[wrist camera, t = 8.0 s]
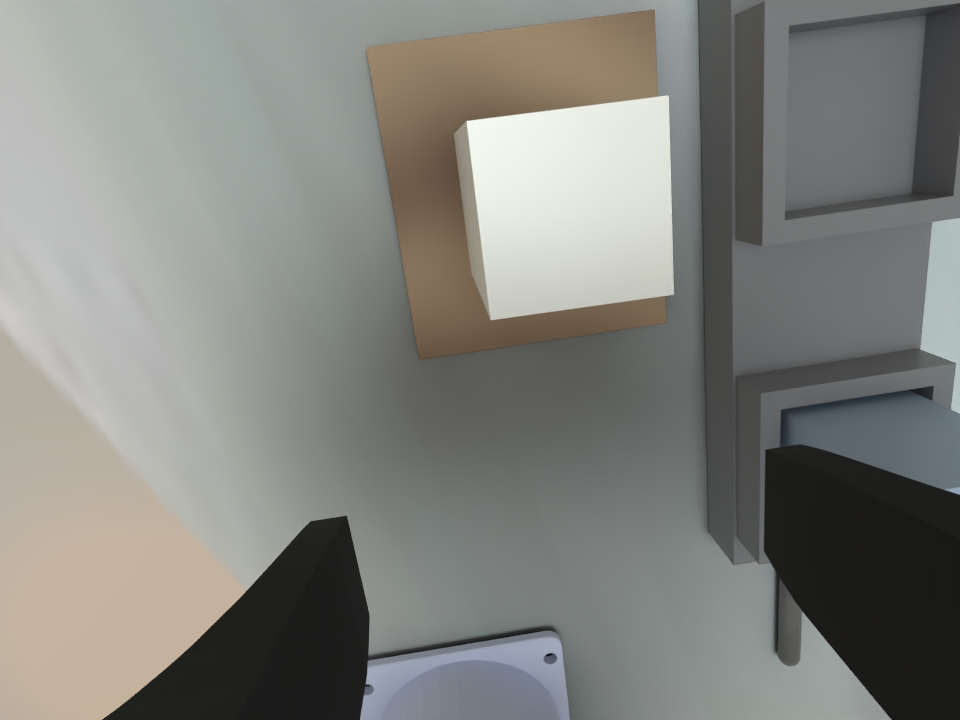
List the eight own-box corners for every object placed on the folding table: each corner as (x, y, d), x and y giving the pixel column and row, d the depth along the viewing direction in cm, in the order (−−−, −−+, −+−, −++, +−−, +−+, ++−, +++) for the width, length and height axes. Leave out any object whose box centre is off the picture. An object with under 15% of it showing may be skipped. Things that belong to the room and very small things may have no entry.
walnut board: (659, 318, 21) (666, 322, 20) (419, 354, 20) (419, 360, 20) (647, 14, 18) (654, 9, 17) (367, 50, 17) (365, 47, 17)
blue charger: (878, 490, 21) (1048, 614, 15) (762, 509, 21) (890, 641, 15) (887, 379, 20) (1075, 468, 14) (764, 398, 20) (903, 496, 14)
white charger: (600, 255, 19) (673, 294, 13) (471, 272, 19) (490, 320, 13) (591, 116, 18) (668, 95, 12) (453, 134, 18) (466, 120, 12)
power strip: (854, 643, 25) (919, 715, 22) (711, 667, 25) (754, 744, 22) (901, -39, 18) (1010, -84, 15) (698, -12, 18) (761, -53, 14)
